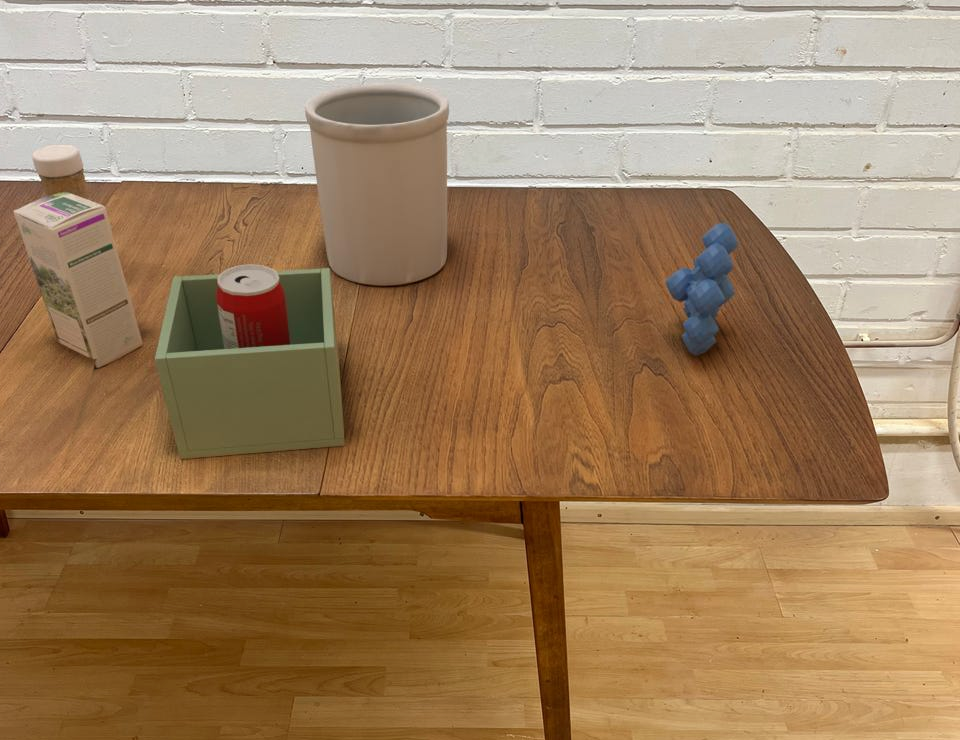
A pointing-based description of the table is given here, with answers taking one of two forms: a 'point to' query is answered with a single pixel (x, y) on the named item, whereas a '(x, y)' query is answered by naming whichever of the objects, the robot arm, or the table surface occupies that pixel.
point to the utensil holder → (381, 180)
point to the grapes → (705, 288)
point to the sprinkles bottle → (61, 170)
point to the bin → (251, 373)
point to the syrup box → (80, 275)
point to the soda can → (252, 307)
